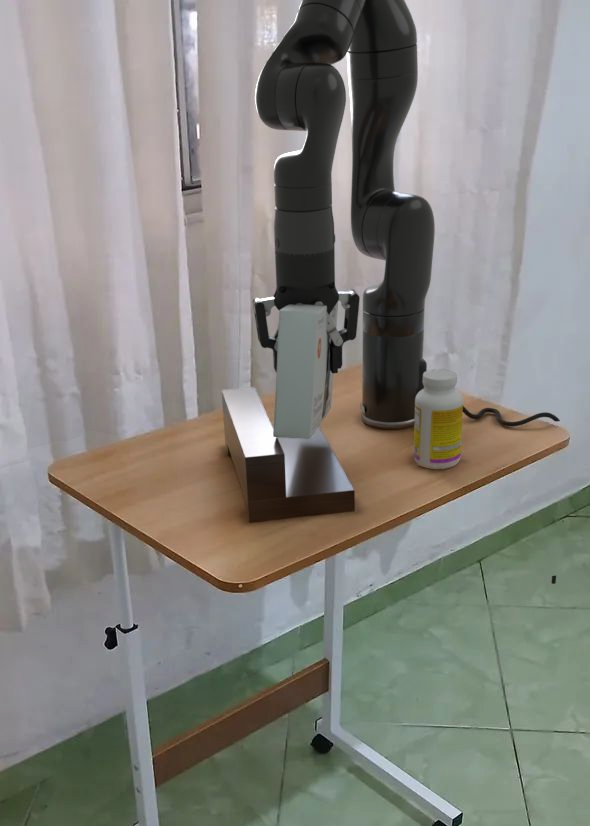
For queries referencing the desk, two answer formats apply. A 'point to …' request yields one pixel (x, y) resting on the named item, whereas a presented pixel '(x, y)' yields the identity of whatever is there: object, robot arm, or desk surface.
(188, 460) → the desk surface
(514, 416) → the desk surface
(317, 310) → the skincare box
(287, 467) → the metal step block
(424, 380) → the supplement bottle
